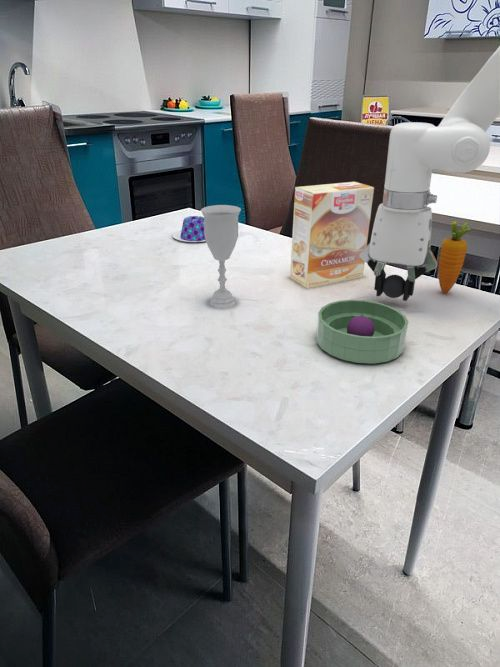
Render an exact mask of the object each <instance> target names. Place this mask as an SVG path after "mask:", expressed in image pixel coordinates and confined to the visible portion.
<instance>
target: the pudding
mask: <svg viewBox="0 0 500 667" xmlns="http://www.w3.org/2000/svg"><path fill="white" fill-rule="evenodd" d="M172 237H173V238H174V239H175V240H177V241H180V242H186V243H201V242H206V240H205V233H204V216H198V215H193V216H192V215H191V216H190V215H189V216H186V217H184V218H183V221H182V225H181V229H180V230H177V231H176V232H174V233H173V234H172Z"/></svg>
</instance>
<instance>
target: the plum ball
mask: <svg viewBox="0 0 500 667" xmlns="http://www.w3.org/2000/svg"><path fill="white" fill-rule="evenodd" d="M374 331H375V328H374V324H373V322H372V321H371V320H370V319H369V318H367V317H365V316H356V317H354V318H352V319H351V320H350V321H349V323H348V325H347V334H353V335H358V336H373V335H374Z"/></svg>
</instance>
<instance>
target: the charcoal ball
mask: <svg viewBox="0 0 500 667" xmlns="http://www.w3.org/2000/svg"><path fill="white" fill-rule="evenodd" d="M405 281H406V279H405V278H404V277H403V276H401V275H399V274H390V275H388V276H386V278H385V280H384V281H383V284H382V289H383V293H384V295H385V296H386V297H388V298H391V299H398V298H400V297H401V296H403V292H404V285H405Z"/></svg>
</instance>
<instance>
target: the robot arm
mask: <svg viewBox="0 0 500 667" xmlns="http://www.w3.org/2000/svg"><path fill="white" fill-rule="evenodd" d="M499 116H500V45H499V46H498V47H497V49H496V50H495V51H494V52H493V54H492V55H491V56H490V57H488V60H486V62H485V63H484V65H483V66H482V67H481V68H480V70H479V71H478V72H477V73H476V75H475V76H474V77H473V78H472V79H471V80H470V82H469V83H468V84H467V86H466V87H465V88H464V89H463V91H462V92H461V93H460V94H459V96H458V97H457V99H456V100H455V102H454V103H453V104H452V105H451V107H450V108H449V110H448V111H447V112H446V114H445V115H444V117H443V118H442V119H441V121H440V123H439V124H438V125H437V126H435V125H434V124H433V123H428V122H421V121H420V122H418V121H416V122H415V121H414V122H413V121H410V122H400V123H396V124H395V125H393V127H392V128H391V129H390V133H389V138H388V139H389V140H388V149H387V158H386V168H385V169H386V170H385V178H384V188H383V196H382V203H380V204H379V205H378V207H377V210H376V213H375V218H374V222H373V227H372V231H371V235H370V242H369V243H367V247H366V248H365V249H364V250H363V251H362V252H361V253H360V255H359V257H360V258H361V259H362V260H363V261H365V263H366V264H367V267H369V268H370V269H371V271H372V272H373V275H374V276H375V278H374V279H375V280H374V286H373V288H374V289H373V290H374V291H376V293H375V295H376V297H381V296H382V295H383V293H384V292H383V289H382V284H383V281H384V280H385V279H386V278H387V272H386V271H385V267H386V264H387V263H389V264H397V265H403V266H406V268H407V277H406V279H405V285H404V292H403V295H402V301H404V302H407V301H408V300H409V298H410V297H412V296H413V295H414V290H415V283H416V280H417V279H418V278H421V276H423V275H424V274H425V273H429V272H430V271H432V270H435V269H437V267H438V266H439V261H437V258H436V257H435V255H434V253H433V251H432V250H431V241H432V240H431V239H432V229H433V228H432V227H433V226H432V225H433V211H432V208H431V207H430V206H428V205H430V204H437V201H438V195H437V194H433V193H432V192H431V189H430V188H431V182H432V175H433V171H441V172H446V173H452V174H453V173H454V174H466V173H470V172H472V171H474V170H476V169H478V168H479V167H480V166H482V165H483V164H484V163H485V161H486V160H487V158H488V157H489V154H490V149H491V142H490V137H489V135H488V134H487V131H488V130H489V128H490V127H491V126H492V125H493V123H494V122H495V121H496V120H497V118H499ZM425 261H426V263H425ZM424 263H425V264H424Z"/></svg>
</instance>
